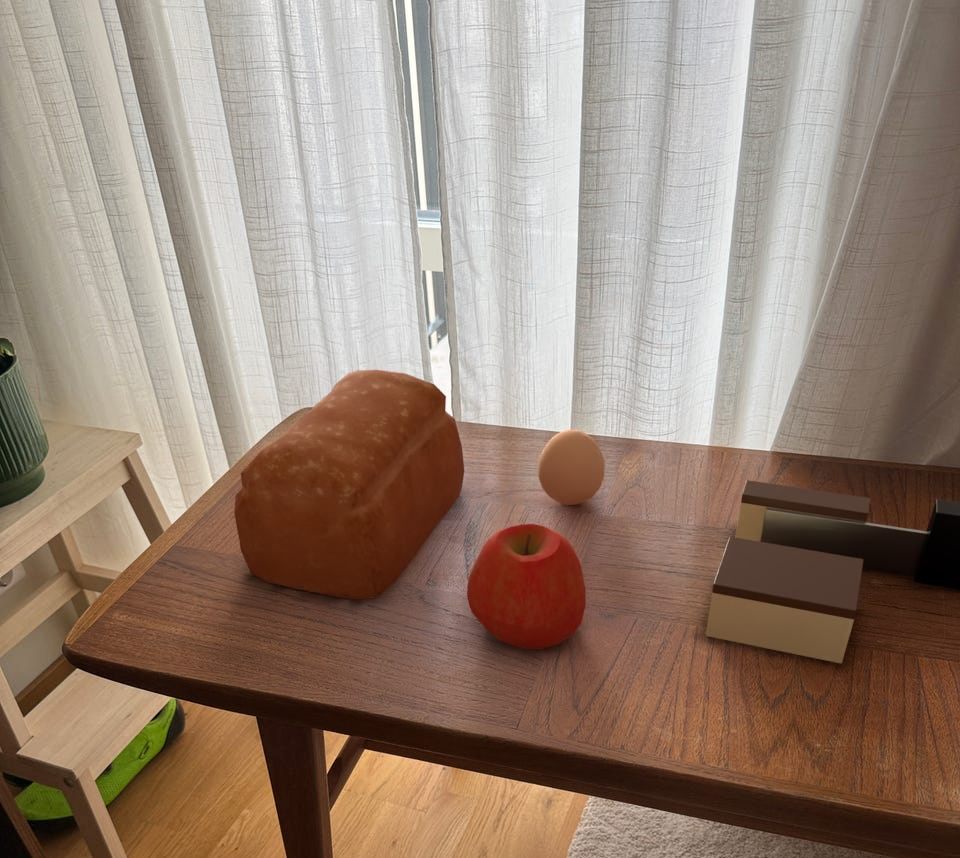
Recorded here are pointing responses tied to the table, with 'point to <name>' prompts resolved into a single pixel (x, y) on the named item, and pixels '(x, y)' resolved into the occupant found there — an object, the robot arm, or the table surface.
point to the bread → (351, 487)
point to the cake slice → (793, 505)
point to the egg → (571, 467)
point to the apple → (528, 587)
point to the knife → (878, 542)
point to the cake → (785, 599)
